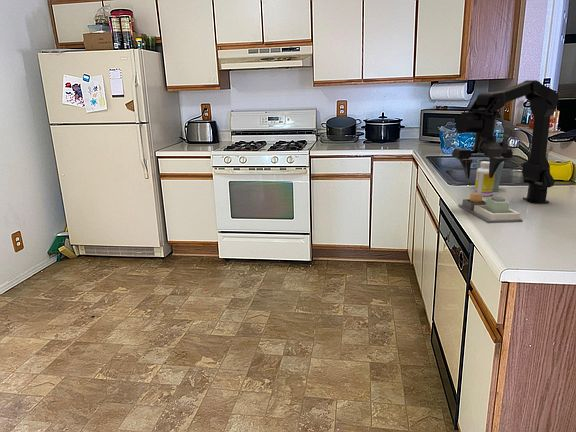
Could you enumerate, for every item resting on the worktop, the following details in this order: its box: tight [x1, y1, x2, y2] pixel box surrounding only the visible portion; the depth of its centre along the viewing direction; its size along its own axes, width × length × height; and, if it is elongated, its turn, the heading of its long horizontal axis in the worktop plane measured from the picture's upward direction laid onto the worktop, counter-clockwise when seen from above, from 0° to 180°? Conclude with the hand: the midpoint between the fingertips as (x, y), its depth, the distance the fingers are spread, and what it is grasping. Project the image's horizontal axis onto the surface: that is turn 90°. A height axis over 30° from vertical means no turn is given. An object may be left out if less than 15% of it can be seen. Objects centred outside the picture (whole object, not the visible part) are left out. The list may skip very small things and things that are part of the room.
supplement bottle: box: [473, 161, 495, 197], centre depth 174 cm, size 7×7×13 cm
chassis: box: [457, 198, 523, 224], centre depth 149 cm, size 20×12×3 cm, turn 6°
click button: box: [469, 192, 484, 203], centre depth 154 cm, size 4×4×3 cm
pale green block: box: [485, 196, 511, 213], centre depth 145 cm, size 6×4×6 cm
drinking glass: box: [476, 158, 505, 192], centre depth 182 cm, size 10×10×12 cm
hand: (479, 178), depth 152 cm, fingers open, 8 cm apart
